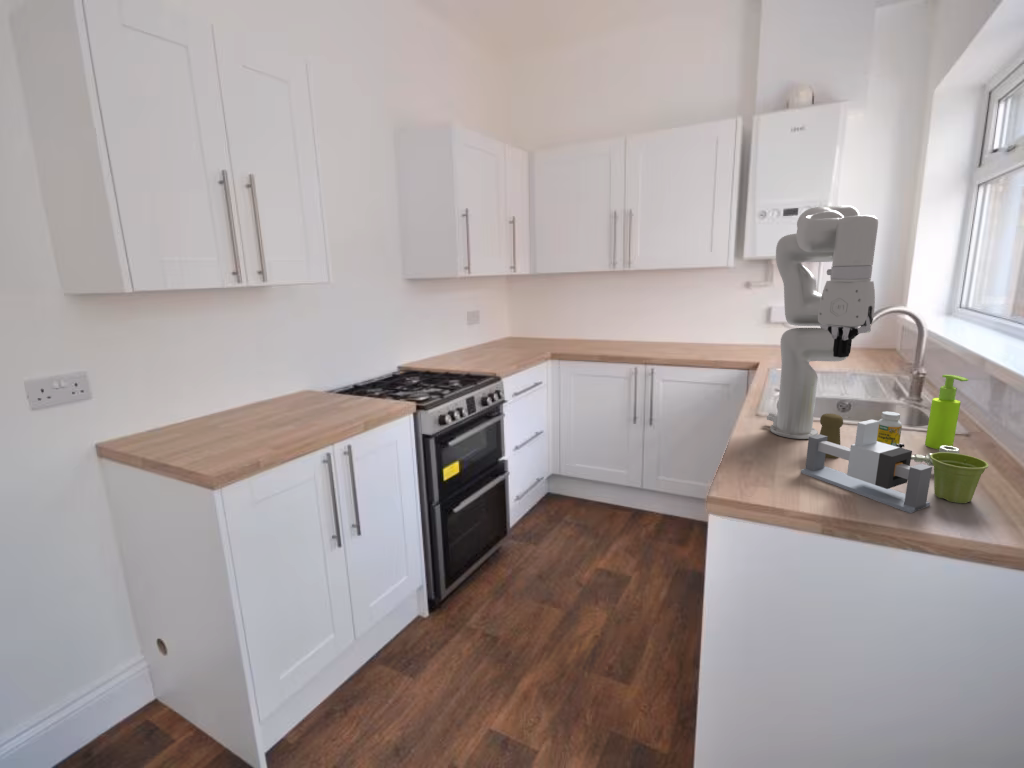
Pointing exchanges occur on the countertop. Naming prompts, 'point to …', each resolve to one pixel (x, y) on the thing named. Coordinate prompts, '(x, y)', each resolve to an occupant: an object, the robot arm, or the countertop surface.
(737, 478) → the countertop surface
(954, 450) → the valve
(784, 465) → the countertop surface
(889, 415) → the supplement bottle
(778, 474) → the countertop surface
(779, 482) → the countertop surface
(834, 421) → the cork
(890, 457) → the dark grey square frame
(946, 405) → the soap dispenser
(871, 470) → the sleeve
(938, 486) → the plant pot
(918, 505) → the rail stand
